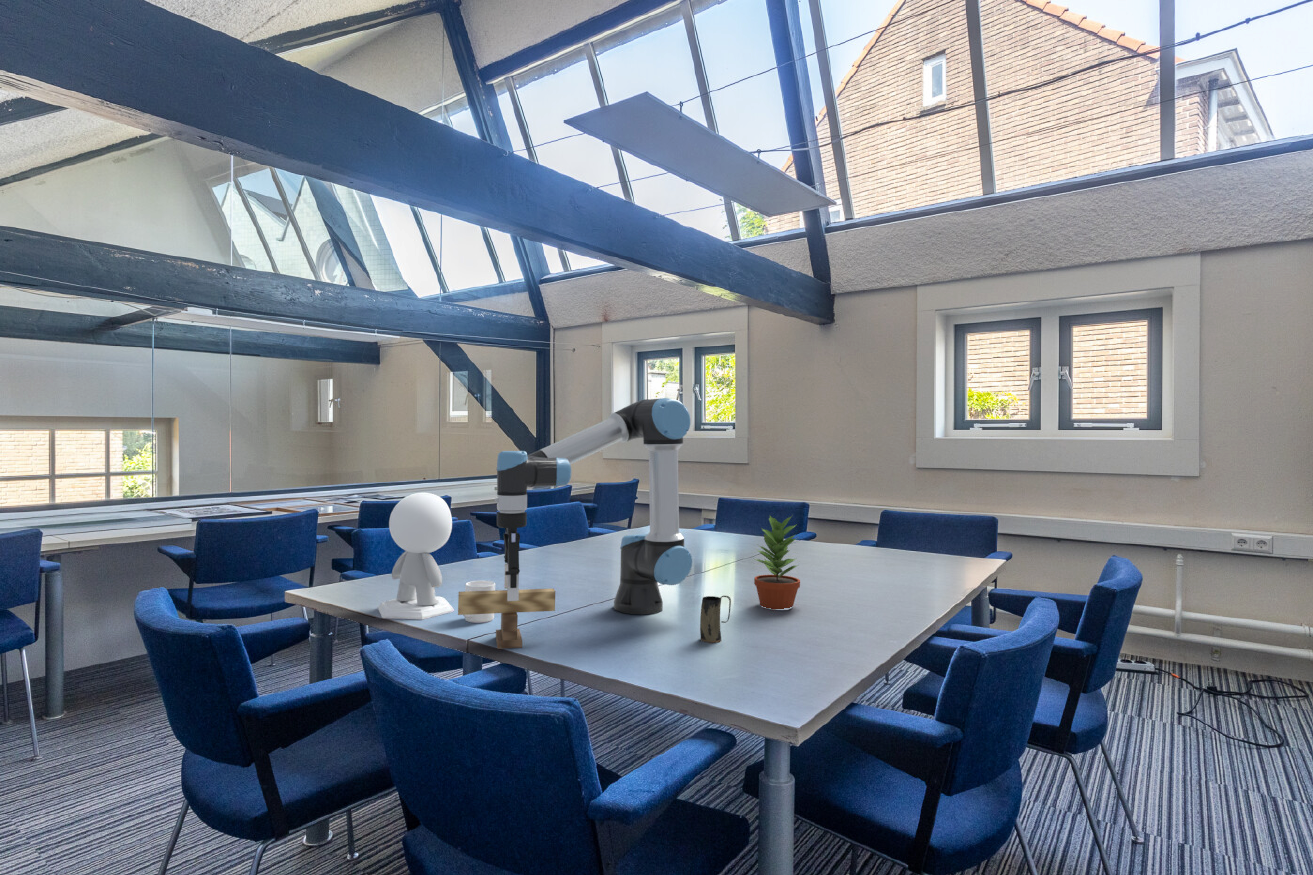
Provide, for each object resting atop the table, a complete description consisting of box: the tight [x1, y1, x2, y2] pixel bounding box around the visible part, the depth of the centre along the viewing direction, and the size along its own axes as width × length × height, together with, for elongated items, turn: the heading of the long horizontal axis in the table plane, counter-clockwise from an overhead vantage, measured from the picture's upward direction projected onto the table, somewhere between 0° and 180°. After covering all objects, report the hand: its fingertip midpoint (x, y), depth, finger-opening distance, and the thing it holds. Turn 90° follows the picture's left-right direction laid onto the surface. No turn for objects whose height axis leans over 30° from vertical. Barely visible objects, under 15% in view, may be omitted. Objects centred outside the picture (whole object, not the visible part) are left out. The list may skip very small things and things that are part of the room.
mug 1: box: [463, 580, 496, 624], centre depth 196 cm, size 12×8×10 cm
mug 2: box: [699, 595, 732, 644], centre depth 183 cm, size 8×6×12 cm
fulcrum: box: [495, 612, 523, 650], centre depth 177 cm, size 6×10×8 cm, turn 15°
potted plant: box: [753, 515, 801, 609], centre depth 221 cm, size 15×15×30 cm
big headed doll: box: [377, 492, 455, 621], centre depth 206 cm, size 20×23×35 cm
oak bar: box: [457, 588, 556, 616], centre depth 176 cm, size 24×4×5 cm, turn 105°
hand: (511, 594), depth 177 cm, fingers open, 13 cm apart
